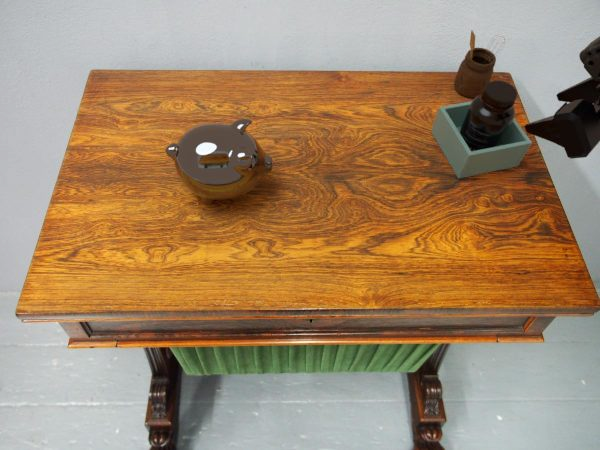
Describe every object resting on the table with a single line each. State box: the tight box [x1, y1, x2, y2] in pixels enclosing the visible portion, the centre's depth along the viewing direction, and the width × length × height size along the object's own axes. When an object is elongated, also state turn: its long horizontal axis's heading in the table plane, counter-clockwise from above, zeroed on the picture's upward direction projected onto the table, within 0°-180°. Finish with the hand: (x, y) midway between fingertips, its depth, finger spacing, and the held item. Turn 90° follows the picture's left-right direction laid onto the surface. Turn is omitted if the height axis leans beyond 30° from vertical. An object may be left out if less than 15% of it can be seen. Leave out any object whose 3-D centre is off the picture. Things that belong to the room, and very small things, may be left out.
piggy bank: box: [164, 117, 274, 206], centre depth 72 cm, size 11×15×12 cm
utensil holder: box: [453, 29, 506, 99], centre depth 87 cm, size 6×6×12 cm
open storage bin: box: [430, 100, 533, 180], centre depth 81 cm, size 11×11×6 cm
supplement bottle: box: [459, 80, 518, 152], centre depth 78 cm, size 7×7×12 cm
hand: (542, 112), depth 71 cm, fingers open, 9 cm apart
